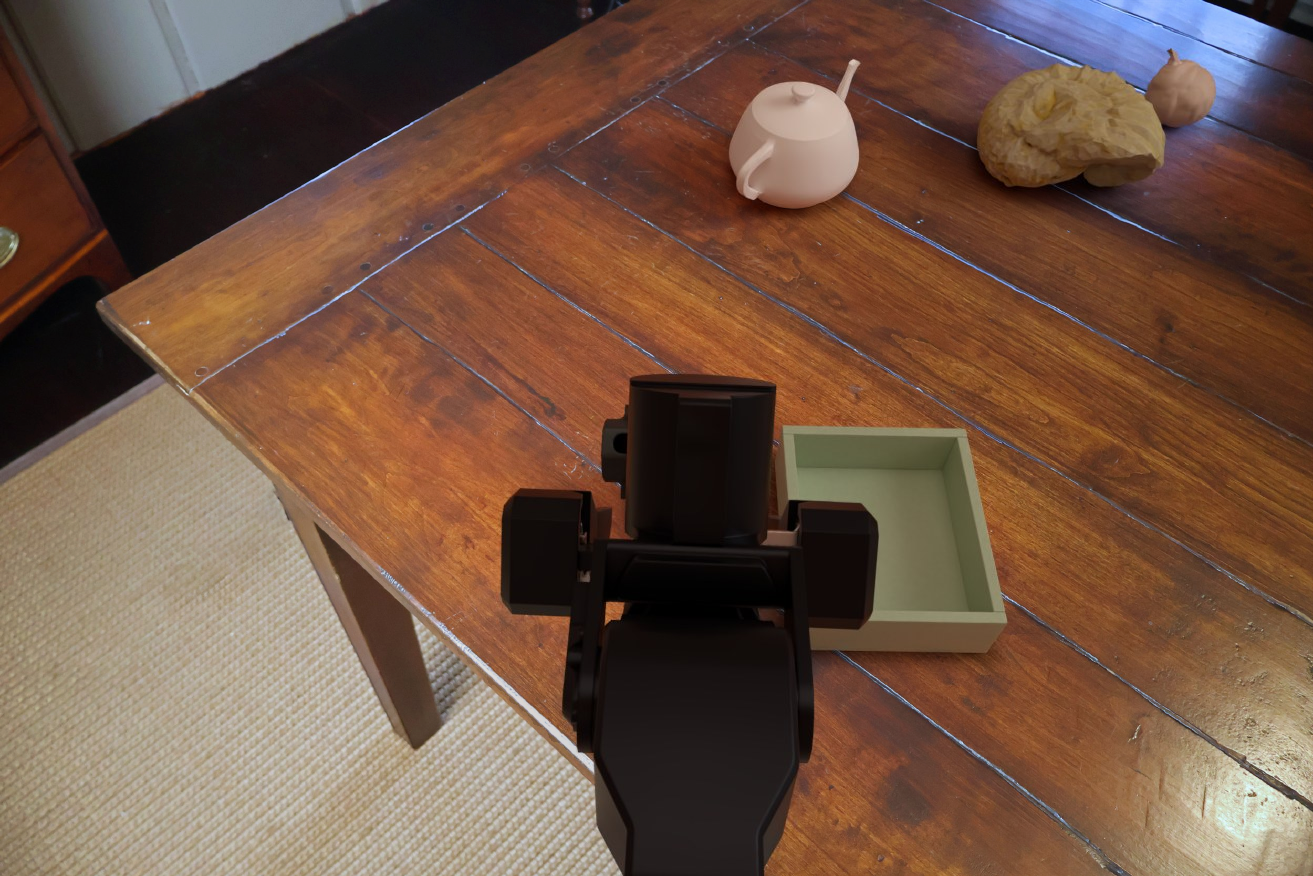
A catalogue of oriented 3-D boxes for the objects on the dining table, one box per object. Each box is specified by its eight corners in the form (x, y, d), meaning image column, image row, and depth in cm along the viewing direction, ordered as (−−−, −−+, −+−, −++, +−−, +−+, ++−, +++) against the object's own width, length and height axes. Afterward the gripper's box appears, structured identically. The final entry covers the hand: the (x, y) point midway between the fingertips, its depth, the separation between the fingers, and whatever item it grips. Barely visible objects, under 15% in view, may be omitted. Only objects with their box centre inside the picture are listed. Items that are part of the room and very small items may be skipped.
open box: (986, 653, 66) (1008, 623, 62) (788, 649, 66) (797, 619, 62) (948, 464, 75) (965, 428, 71) (774, 461, 75) (782, 424, 71)
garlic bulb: (1153, 94, 104) (1187, 25, 97) (1209, 120, 101) (1248, 51, 95) (1123, 121, 101) (1156, 51, 94) (1180, 148, 98) (1218, 79, 92)
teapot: (794, 103, 102) (808, 13, 93) (897, 150, 97) (921, 59, 89) (681, 202, 92) (685, 111, 84) (790, 259, 88) (805, 169, 80)
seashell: (1031, 129, 104) (935, 147, 96) (1084, 33, 96) (983, 43, 89) (1152, 221, 95) (1055, 247, 88) (1220, 123, 88) (1120, 143, 80)
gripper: (920, 433, 40) (852, 390, 56) (477, 414, 41) (532, 377, 56) (899, 683, 42) (839, 575, 58) (475, 664, 42) (528, 561, 58)
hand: (685, 518), depth 57 cm, fingers open, 9 cm apart
